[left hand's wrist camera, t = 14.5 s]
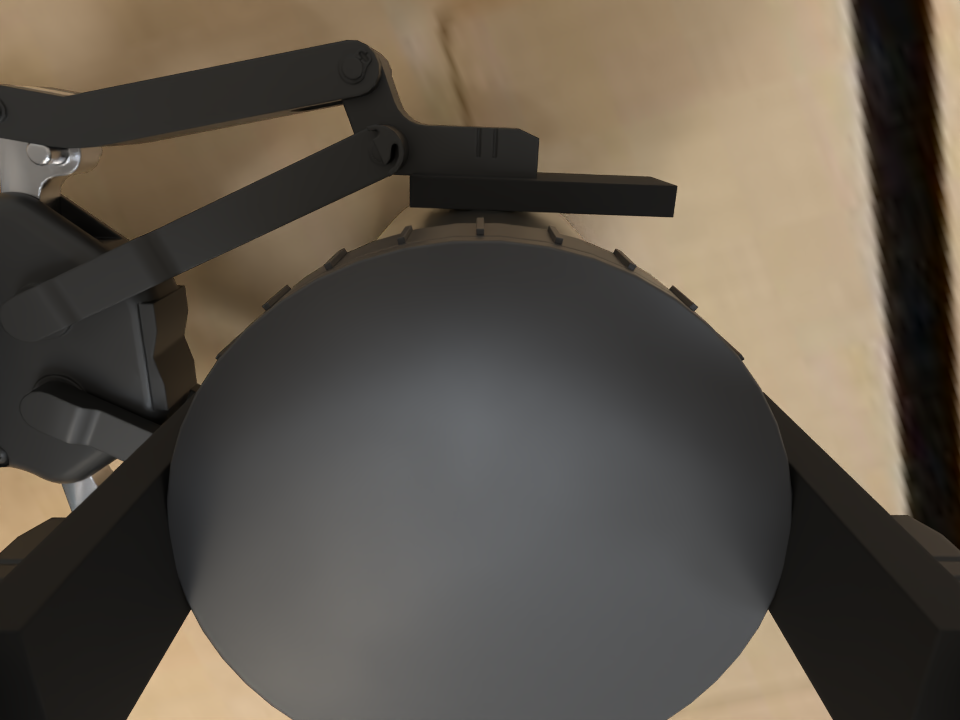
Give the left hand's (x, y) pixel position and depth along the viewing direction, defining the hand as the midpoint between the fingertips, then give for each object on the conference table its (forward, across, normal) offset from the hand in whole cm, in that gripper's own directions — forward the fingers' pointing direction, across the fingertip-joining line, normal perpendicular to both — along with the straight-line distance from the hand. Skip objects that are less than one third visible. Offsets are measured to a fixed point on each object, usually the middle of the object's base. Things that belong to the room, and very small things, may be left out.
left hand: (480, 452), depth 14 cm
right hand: (+6, -5, 0) cm, 7 cm away
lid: (-3, 0, 0) cm, 3 cm away
